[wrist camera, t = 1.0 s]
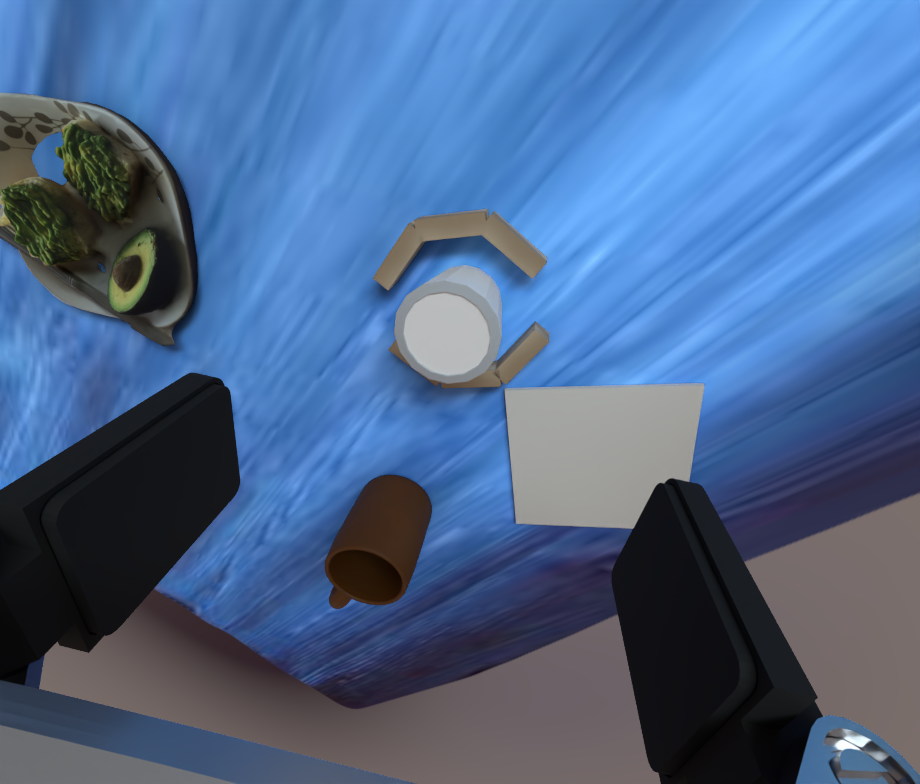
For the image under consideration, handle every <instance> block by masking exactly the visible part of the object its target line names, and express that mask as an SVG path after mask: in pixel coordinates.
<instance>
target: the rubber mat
mask: <svg viewBox="0 0 920 784" xmlns="http://www.w3.org/2000/svg"><path fill="white" fill-rule="evenodd" d="M704 386H705V385H704V384H703V383H681V384H643V385H605V386H568V387H530V388H505V400H506V412H507V423H508V435H509V447H510V458H511V470H512V481H513V493H514V504H515V516H516V524H537V525H561V526H584V527H608V528H631V529H633V528H634V526H635V524H636V523H637V521H638V519H639V517H640V515H641V513H642V511H643V509H644V507H645V505H646V503H647V501H648V500H649V498H650V496H651V494H652V492H653V490H654V488H655V487H656V485H657V484H658V483H665V482H666V481H667V480H668V479H670V478H674V479H678V480H683V481H687V482H689V479H690V473H691V467H692V460H693V454H694V448H695V442H696V435H697V429H698V423H699V417H700V411H701V404H702V398H703V392H704Z"/></svg>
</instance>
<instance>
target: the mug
mask: <svg viewBox="0 0 920 784" xmlns="http://www.w3.org/2000/svg"><path fill="white" fill-rule="evenodd" d="M431 513H432V506H431V502H430V499H429V497H428V495H427V493H426V492H425V491H424V490H423V488H422V487H420V486H419V485H418V484H417V483H415V482H414V481H412V480H410V479H408V478H405V477H402V476H398V475H383V476H379V477H377V478H374V479H373V480H371V481H370V482H369V483H368V484H367V485H366V486H365V487H364V488H363V490H362V492H361V493H360V495H359V497H358V499H357V500H356V502H355V504H354V506H353V507H352V509H351V511H350V512H349V514H348V516H347V518H346V520H345V521H344V523H343V525H342V527H341V529H340V530H339V532H338V534H337V536H336V538H335V540H334V542H333V544H332V546H331V549H330V551H329V553H328V555H327V557H326V560H325V572H326V575H327V577H328V579H329V580H330V582H331V583H332V584H333V585H334V587H333V589H332V591H331V594H330V597H329V603H330V605H331V606H332V607H333V608H335V609H340V608H343V607H344V606H346V605H347V604H348V603H349V601H350V600H351V598H352V599H354V600H356V601H359V602H362V603H366V604H371V605H386V604H391V603H393V602H395V601H397V600H399V599H400V598H401V597H402V596H403V595H404V593H405V592H406V590H407V587H408V584H409V582H410V580H411V578H412V575H413V572H414V570H415V566H416V563H417V560H418V557H419V554H420V551H421V548H422V545H423V542H424V538H425V535H426V531H427V528H428V525H429V522H430V519H431Z"/></svg>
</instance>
